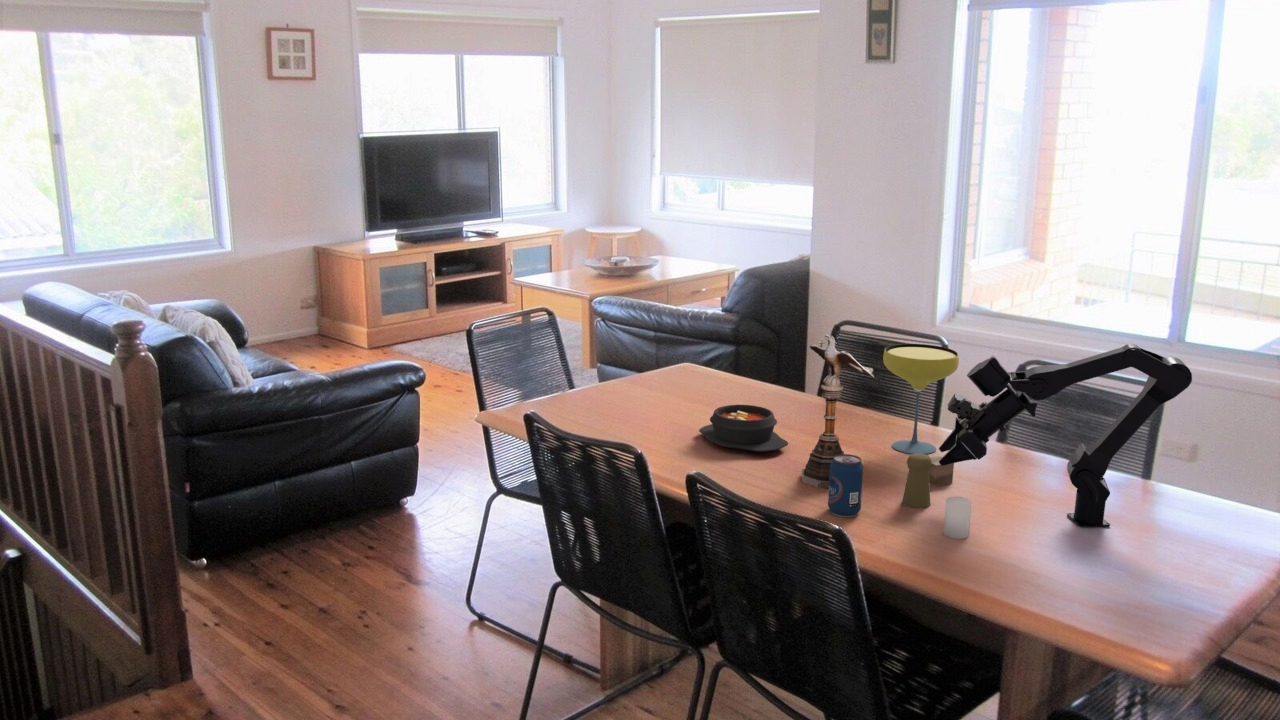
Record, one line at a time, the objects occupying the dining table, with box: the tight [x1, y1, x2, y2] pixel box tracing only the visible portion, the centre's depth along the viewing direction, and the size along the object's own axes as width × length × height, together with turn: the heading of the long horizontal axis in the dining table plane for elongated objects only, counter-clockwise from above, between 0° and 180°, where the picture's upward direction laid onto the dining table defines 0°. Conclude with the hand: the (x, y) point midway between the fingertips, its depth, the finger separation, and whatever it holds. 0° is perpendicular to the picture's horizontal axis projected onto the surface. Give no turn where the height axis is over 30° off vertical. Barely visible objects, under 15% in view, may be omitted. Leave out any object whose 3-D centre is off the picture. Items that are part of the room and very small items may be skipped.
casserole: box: [698, 404, 789, 453], centre depth 268 cm, size 25×19×8 cm
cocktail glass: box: [882, 343, 960, 455], centre depth 264 cm, size 18×18×25 cm
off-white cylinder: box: [942, 496, 973, 540], centre depth 212 cm, size 5×5×7 cm
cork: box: [901, 453, 932, 509], centre depth 228 cm, size 6×6×11 cm
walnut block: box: [929, 455, 955, 486], centre depth 243 cm, size 5×5×5 cm
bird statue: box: [801, 333, 875, 489], centre depth 241 cm, size 17×13×35 cm
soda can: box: [827, 453, 865, 518], centre depth 222 cm, size 7×7×12 cm
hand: (940, 456), depth 226 cm, fingers open, 9 cm apart
